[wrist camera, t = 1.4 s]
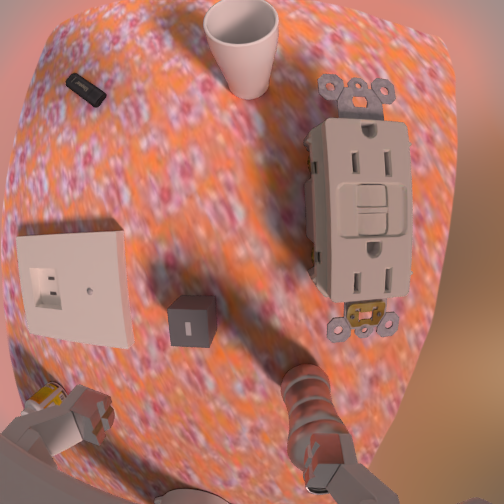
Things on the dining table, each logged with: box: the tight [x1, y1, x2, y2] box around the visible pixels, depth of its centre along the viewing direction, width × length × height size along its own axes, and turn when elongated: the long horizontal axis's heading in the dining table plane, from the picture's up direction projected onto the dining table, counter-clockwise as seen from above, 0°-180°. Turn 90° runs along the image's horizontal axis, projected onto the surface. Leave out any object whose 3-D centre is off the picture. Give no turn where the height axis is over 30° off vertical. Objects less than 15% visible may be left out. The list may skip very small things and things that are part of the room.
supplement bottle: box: [21, 382, 68, 416], centre depth 37 cm, size 6×6×10 cm
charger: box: [167, 295, 217, 348], centre depth 36 cm, size 5×5×6 cm
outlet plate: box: [16, 230, 135, 349], centre depth 38 cm, size 16×20×2 cm
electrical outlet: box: [304, 74, 413, 343], centre depth 32 cm, size 12×28×10 cm, turn 3°
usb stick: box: [66, 73, 106, 107], centre depth 35 cm, size 10×3×2 cm, turn 51°
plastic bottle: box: [281, 364, 350, 495], centre depth 29 cm, size 6×7×20 cm
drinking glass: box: [203, 0, 279, 100], centre depth 27 cm, size 7×7×15 cm
